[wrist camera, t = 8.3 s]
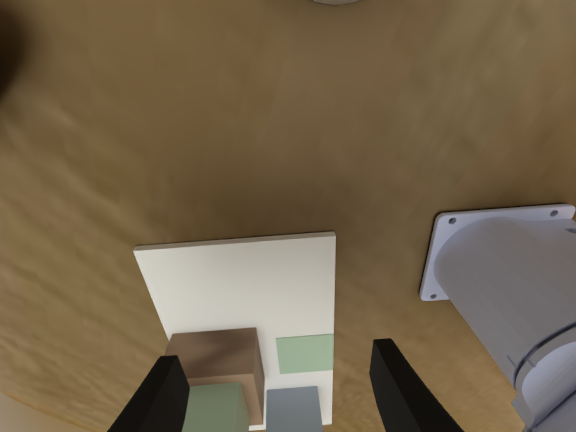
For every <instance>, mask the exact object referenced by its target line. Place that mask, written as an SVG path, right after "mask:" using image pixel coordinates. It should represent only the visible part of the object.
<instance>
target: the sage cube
mask: <svg viewBox="0 0 576 432" xmlns="http://www.w3.org/2000/svg"><path fill="white" fill-rule="evenodd" d="M249 422H250V418H249V414H248V410H247V406H246V402H245V399H244V395H243V391H242V387H241V383H240V382H235V383H223V384H212V385H200V386H190V392H189V398H188V405H187V410H186V416H185V421H184V425H183V429H182V432H249Z"/></svg>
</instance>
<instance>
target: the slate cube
mask: <svg viewBox="0 0 576 432" xmlns="http://www.w3.org/2000/svg"><path fill="white" fill-rule="evenodd" d="M266 432H323V426H322V418H321V410H320V403H319V395H318V387H317V386H308V387H295V388H282V389H270V390H267V400H266Z"/></svg>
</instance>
